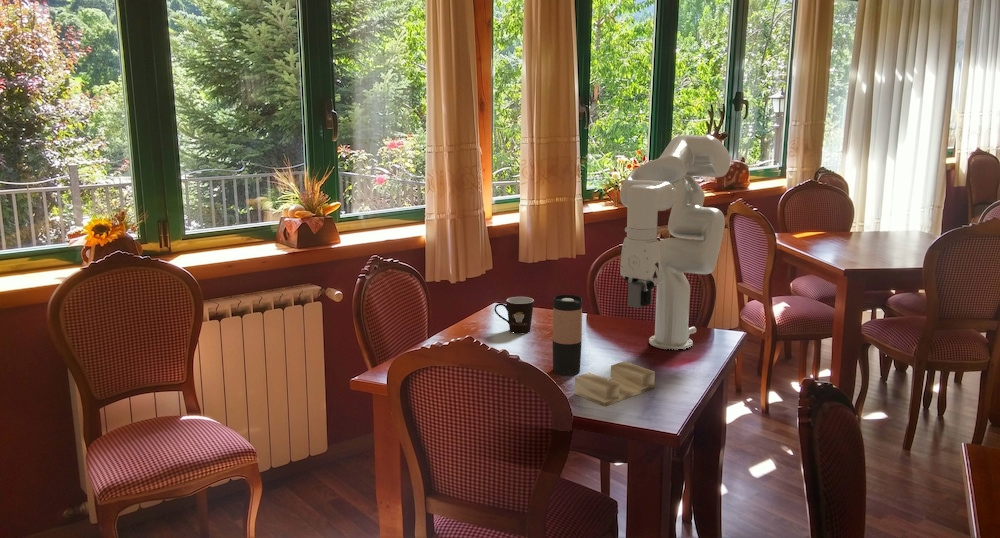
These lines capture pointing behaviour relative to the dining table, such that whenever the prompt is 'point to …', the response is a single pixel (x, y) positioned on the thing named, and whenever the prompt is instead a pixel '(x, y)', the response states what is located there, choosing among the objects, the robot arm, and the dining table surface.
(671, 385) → the dining table surface
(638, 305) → the tab
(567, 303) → the travel mug
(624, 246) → the robot arm
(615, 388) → the notched board
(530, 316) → the coffee mug
